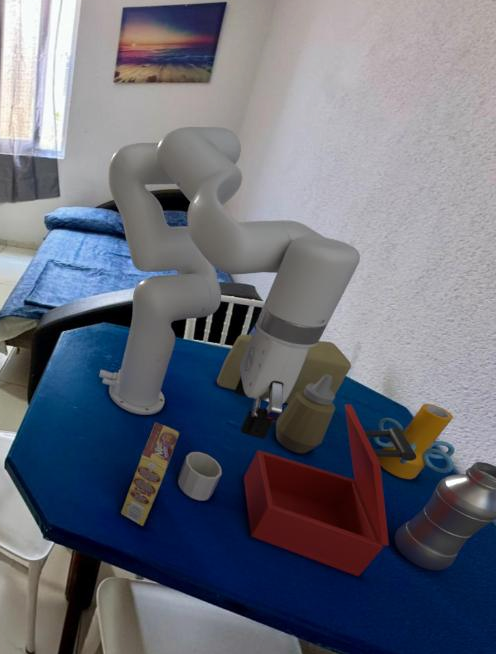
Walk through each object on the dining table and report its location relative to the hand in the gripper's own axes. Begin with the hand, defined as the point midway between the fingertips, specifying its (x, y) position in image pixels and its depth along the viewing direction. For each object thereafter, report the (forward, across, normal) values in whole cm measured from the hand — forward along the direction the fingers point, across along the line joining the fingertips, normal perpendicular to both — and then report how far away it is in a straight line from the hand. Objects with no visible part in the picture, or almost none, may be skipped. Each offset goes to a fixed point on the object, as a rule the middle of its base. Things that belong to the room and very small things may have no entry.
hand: (248, 413), depth 66 cm
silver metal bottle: (+20, -2, +30) cm, 36 cm away
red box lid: (+5, 0, +17) cm, 17 cm away
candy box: (+20, +8, -12) cm, 25 cm away
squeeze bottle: (+20, -21, +16) cm, 33 cm away
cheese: (+20, -37, +14) cm, 44 cm away
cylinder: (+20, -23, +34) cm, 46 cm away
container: (+20, 0, -3) cm, 20 cm away
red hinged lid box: (+20, 0, +13) cm, 24 cm away
